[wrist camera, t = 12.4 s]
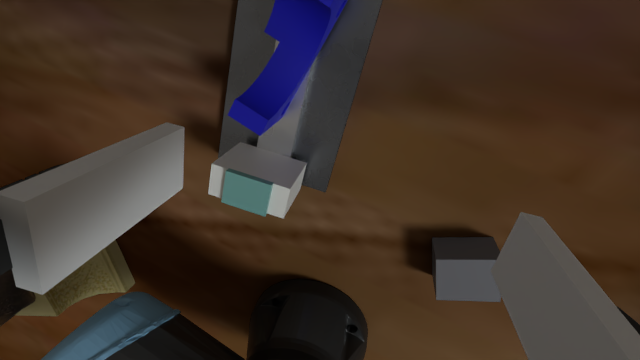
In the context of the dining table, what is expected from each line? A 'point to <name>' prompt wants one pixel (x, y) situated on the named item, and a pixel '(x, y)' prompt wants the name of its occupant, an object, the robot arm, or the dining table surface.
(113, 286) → the yellow and brown statuette
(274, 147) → the rail
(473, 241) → the block
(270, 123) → the cable clip
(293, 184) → the mounted modules
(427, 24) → the dining table surface
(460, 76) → the dining table surface
